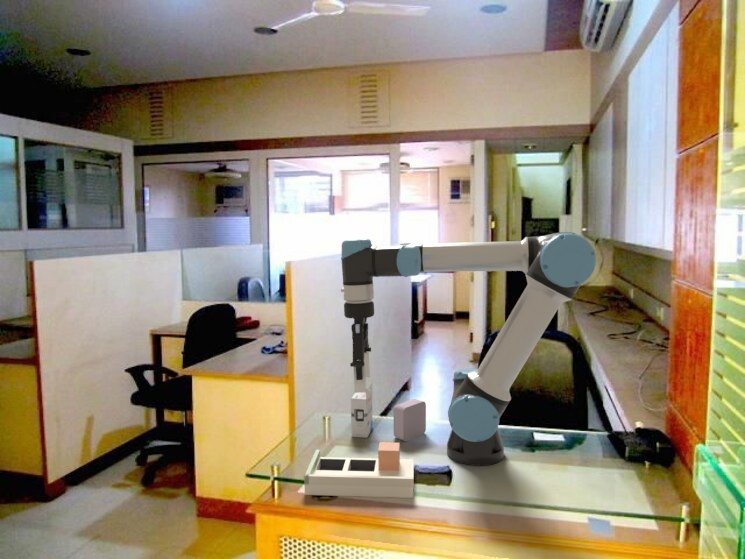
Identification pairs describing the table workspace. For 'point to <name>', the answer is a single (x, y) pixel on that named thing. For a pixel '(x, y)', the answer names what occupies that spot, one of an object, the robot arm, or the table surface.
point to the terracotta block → (389, 456)
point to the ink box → (361, 413)
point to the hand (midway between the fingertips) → (362, 384)
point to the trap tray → (358, 477)
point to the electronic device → (409, 419)
